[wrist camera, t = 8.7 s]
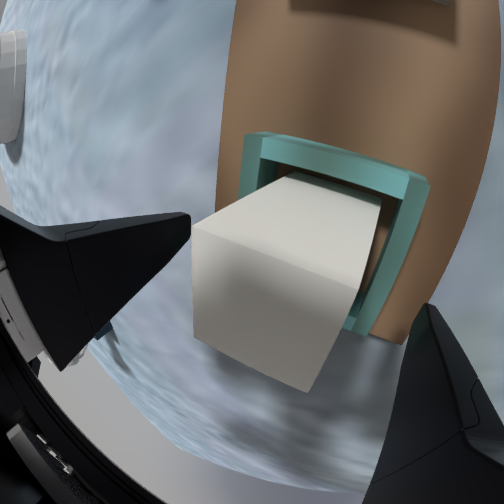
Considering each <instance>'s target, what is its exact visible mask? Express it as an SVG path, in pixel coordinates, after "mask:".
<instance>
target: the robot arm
mask: <svg viewBox="0 0 504 504" xmlns="http://www.w3.org/2000/svg"><path fill="white" fill-rule="evenodd" d="M190 236H191V217H190V215H189V214H186V213H183V212H174V213H163V214H153V215H143V216H134V217H125V218H117V219H108V220H102V221H92V222H84V223H75V224H65V225H55V226H37V225H34V224H32V223H30V222H28V221H26V220H24V219H23V218H21V217H19V216H17V215H16V214H14V213H12V212H10V211H9V210H7V209H5V208H4V207H2V206H0V504H167V503H166V502H164V501H163V500H161V499H160V498H158V497H157V496H156V495H154V494H153V493H151V492H150V491H149V490H147V489H146V488H145V487H143V486H142V485H141V484H139V483H138V482H137V481H135V480H134V479H133V478H132V477H130V476H129V475H128V474H127V473H126V472H124V471H123V470H122V469H121V468H119V467H118V466H117V465H116V464H115V463H114V462H112V461H111V460H110V459H109V458H108V457H107V456H106V455H105V454H104V453H103V452H102V451H101V450H100V449H99V448H97V447H96V446H95V445H94V444H93V443H92V442H91V441H90V440H89V439H88V438H87V437H86V435H85V434H84V433H83V432H82V431H81V430H80V429H79V428H78V427H77V426H76V425H75V424H74V423H73V422H72V420H71V419H70V418H69V417H68V416H67V415H66V414H65V412H64V411H63V410H62V409H61V408H60V406H59V405H58V404H57V403H56V402H55V400H54V399H53V398H52V396H51V395H50V394H49V393H48V391H47V390H46V389H45V387H44V386H43V385H42V383H41V382H40V380H39V379H38V374H39V369H40V364H41V362H40V360H39V359H38V357H37V355H38V354H40V353H41V352H42V351H44V352H45V353H46V355H47V356H48V357H49V358H50V360H51V361H52V362H53V363H54V365H55V366H56V367H57V368H58V370H59V371H60V372H61V371H62V370H63V369H65V368H66V366H67V365H68V364H69V363H70V362H71V361H72V360H73V359H74V358H75V357H76V356H77V354H78V353H79V352H80V351H81V350H82V349H83V348H84V347H85V346H86V345H87V344H88V343H89V342H90V341H91V340H92V338H93V337H94V336H95V334H97V333H98V332H99V331H100V330H101V329H102V328H103V327H104V326H105V325H106V324H107V323H108V322H109V321H110V320H111V319H112V318H113V317H114V316H115V315H116V314H117V313H118V312H119V311H120V310H121V309H122V308H123V307H124V306H125V305H126V304H127V303H128V302H129V301H130V300H131V299H132V298H133V297H134V296H135V295H136V294H137V293H138V292H139V291H140V290H141V289H142V288H143V287H144V286H145V285H146V284H147V283H148V282H149V281H150V280H151V279H152V278H153V277H154V276H155V275H156V274H157V273H158V272H159V271H161V270H162V269H163V268H164V267H165V266H166V265H167V264H168V262H169V261H170V260H171V259H172V258H173V257H174V256H175V255H176V253H177V252H178V251H179V250H180V249H181V248H182V247H183V245H184V244H185V243H186V242H187V241H188V240H189V238H190ZM477 378H478V376H477V374H476V372H475V370H474V369H473V367H472V365H471V363H470V361H469V360H468V358H467V356H466V354H465V353H464V351H463V349H462V347H461V346H460V344H459V342H458V341H457V339H456V337H455V336H454V334H453V333H452V331H451V329H450V328H449V326H448V325H447V323H446V322H445V320H444V318H443V317H442V315H441V314H440V312H439V311H438V309H437V308H436V307H435V306H434V305H431V304H429V303H424V304H423V305H422V307H421V309H420V310H419V312H418V314H417V316H416V317H415V319H414V321H413V323H412V325H411V329H410V333H409V337H408V342H407V346H406V350H405V353H404V357H403V361H402V365H401V370H400V376H399V381H398V386H397V391H396V396H395V401H394V405H393V410H392V414H391V418H390V422H389V426H388V430H387V433H386V437H385V441H384V444H383V447H382V451H381V454H380V457H379V460H378V463H377V466H376V469H375V472H374V475H373V477H372V480H371V483H370V485H369V488H368V490H367V493H366V495H365V497H364V500H363V502H362V504H504V425H503V423H502V421H501V419H500V417H499V416H498V414H497V412H496V410H495V408H494V406H493V405H492V403H491V401H490V399H489V397H488V395H487V393H486V391H485V390H484V388H483V386H482V384H481V382H480V380H479V379H477ZM37 434H38V435H39V436H40V437H41V438H42V439H43V440H44V441H45V442H46V444H44V443H43V442H42V441H41V440H40V439H39V438H38V437H37V436H36V435H37ZM49 451H53V452H54V453H55V454H56V455H57V456H56V458H57V459H58V460H59V461H58V460H57V459H56V458H55V457H53V456H52V455H51V454H50V453H49ZM62 463H63V464H64V465H65V466H67V470H68V471H69V474H68V473H67V472H65V471H64V470H63V469H64V468H65V467H64V465H63V464H62Z"/></svg>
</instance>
